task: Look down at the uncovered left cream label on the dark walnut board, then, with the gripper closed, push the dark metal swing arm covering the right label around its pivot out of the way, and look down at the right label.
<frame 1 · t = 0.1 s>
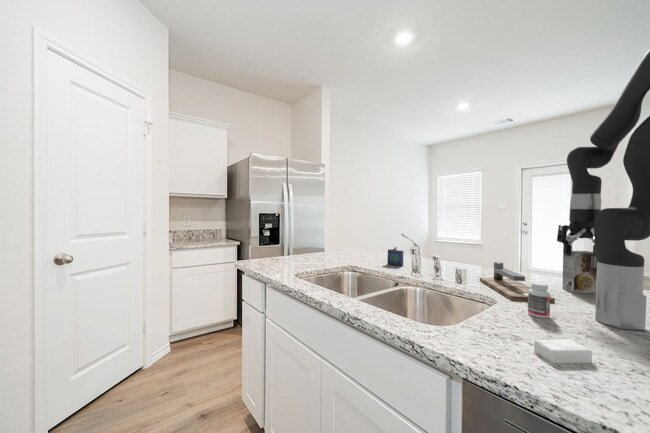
hand: (582, 256, 93), 17 cm above the worktop, tool pointing down, fingers open, 8 cm apart
flask: (395, 265, 161), on the worktop
pill bottle: (538, 315, 85), on the worktop
coffee box: (579, 291, 112), on the worktop
label board: (512, 290, 112), on the worktop
soap: (561, 358, 61), on the worktop
swing arm: (507, 274, 116), point 5 cm above the worktop, hinge at 0.0°
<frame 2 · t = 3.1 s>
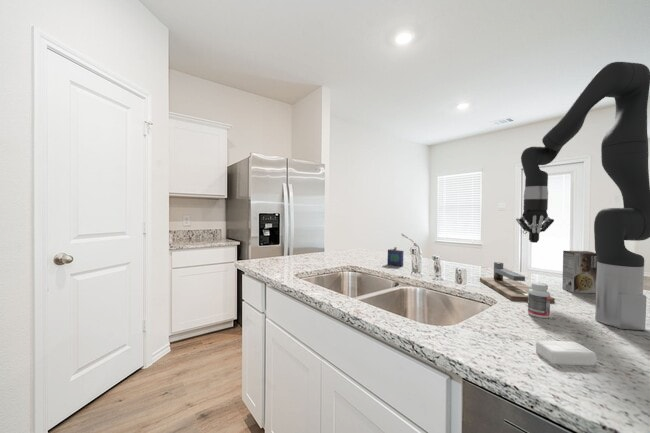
hand: (533, 242, 109), 20 cm above the worktop, tool pointing down, fingers closed
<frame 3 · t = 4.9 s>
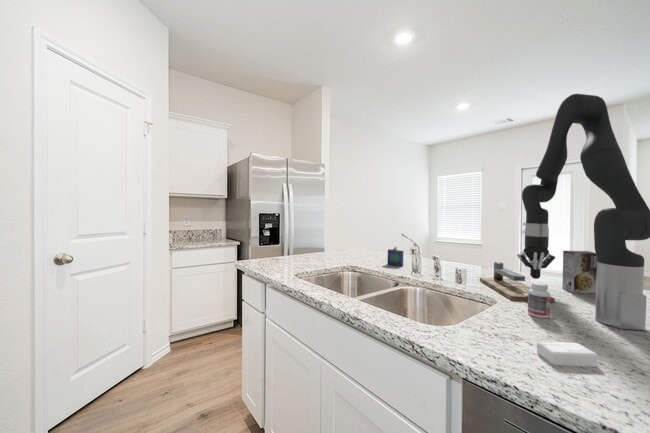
hand: (535, 278, 110), 6 cm above the worktop, tool pointing down, fingers closed
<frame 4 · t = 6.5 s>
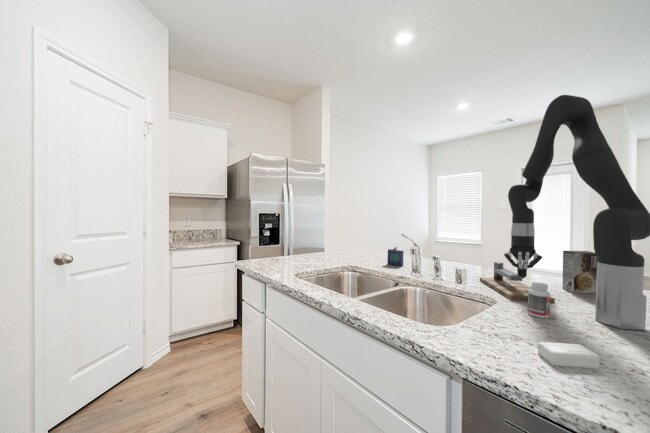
hand: (522, 277, 111), 6 cm above the worktop, tool pointing down, fingers closed
swing arm: (505, 274, 116), point 5 cm above the worktop, hinge at -3.3°, touching gripper
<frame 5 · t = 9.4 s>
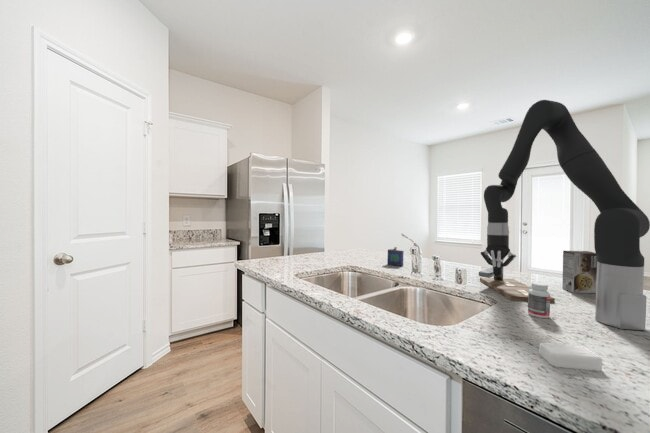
hand: (497, 276, 113), 6 cm above the worktop, tool pointing down, fingers closed
swing arm: (492, 273, 119), point 5 cm above the worktop, hinge at -41.0°, touching gripper
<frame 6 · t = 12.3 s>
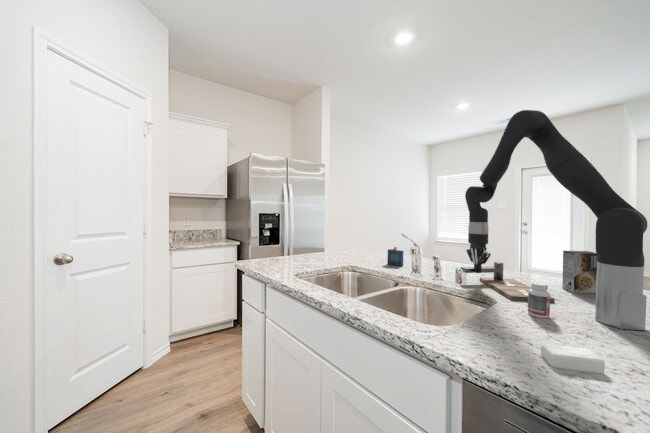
hand: (477, 272, 119), 5 cm above the worktop, tool pointing down, fingers closed
swing arm: (482, 271, 123), point 5 cm above the worktop, hinge at -74.8°, touching gripper
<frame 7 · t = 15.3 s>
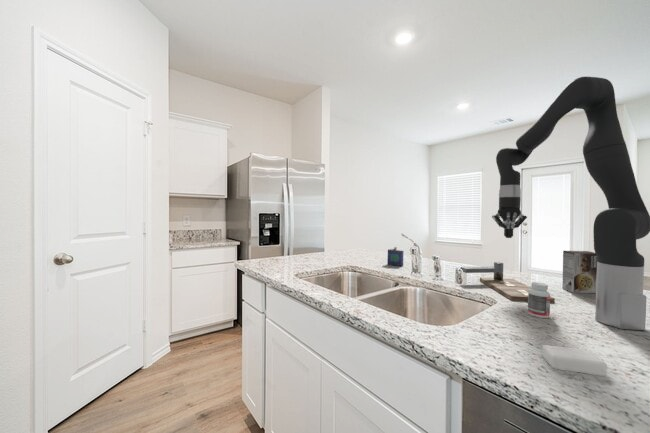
hand: (508, 237, 116), 21 cm above the worktop, tool pointing down, fingers closed
swing arm: (482, 271, 123), point 5 cm above the worktop, hinge at -74.8°
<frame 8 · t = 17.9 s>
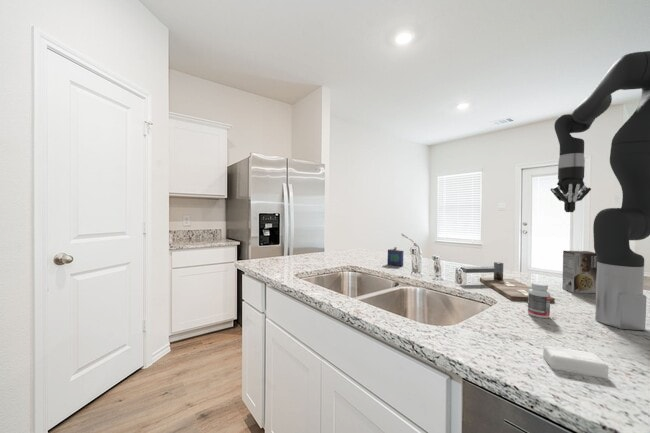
hand: (569, 212, 106), 32 cm above the worktop, tool pointing down, fingers closed
at the end: swing arm at -75° (first picture: +0°); coffee box moved 0.2 cm from its start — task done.
